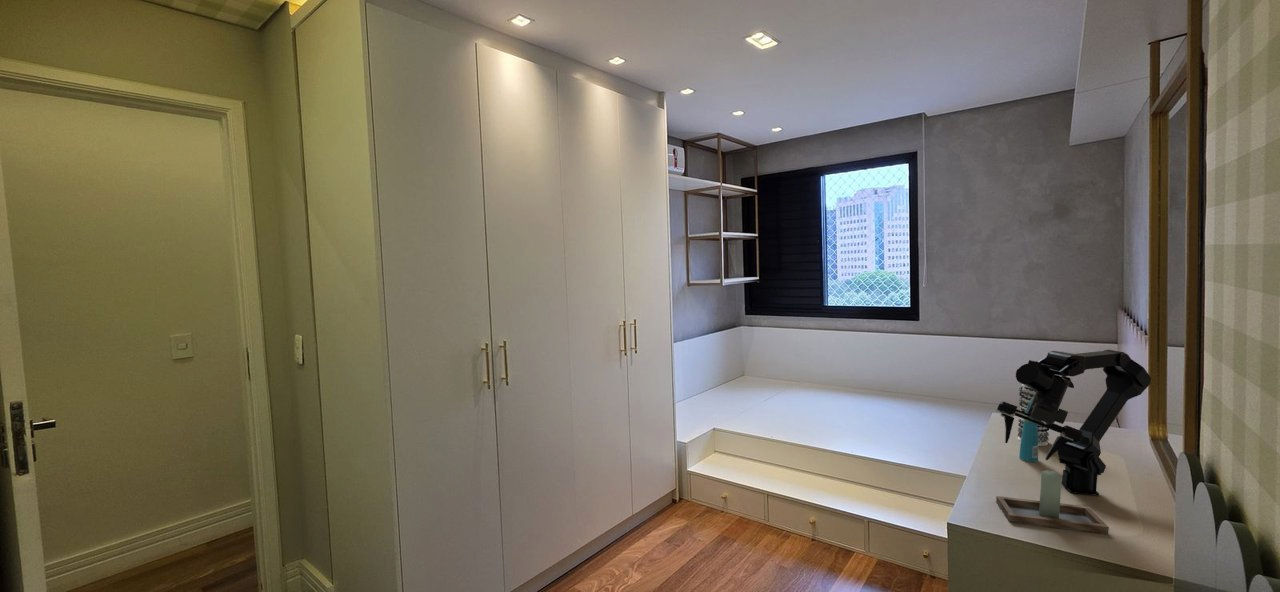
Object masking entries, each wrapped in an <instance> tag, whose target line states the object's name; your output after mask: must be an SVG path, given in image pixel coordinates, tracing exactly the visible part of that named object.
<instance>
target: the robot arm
mask: <svg viewBox="0 0 1280 592" xmlns="http://www.w3.org/2000/svg"><path fill="white" fill-rule="evenodd" d="M1093 369H1102V371H1103V372H1104V373H1105V375H1106V377H1105V379H1104V380H1105V385H1106V390H1105V392H1104V393H1103V395H1102V396H1101V397H1100V399H1099V400H1098V402H1097V403H1096V404H1095V406H1094V407H1093V409H1092V411H1091V412H1090V413H1089V415H1088V416H1087V418H1086V419H1085V421H1084V422H1083V424H1081V426H1080V428H1079V429H1078V428H1074V427H1072V426H1070V425H1063V424H1064V423H1065V421H1066V419H1067V416H1068V414H1069V412H1068V411H1067V410H1065V409H1062V408H1060V406H1061V404H1062V402H1063V400H1064V397H1065V394H1066V391H1067V390H1068V388H1071V389H1074V388H1075V386H1074V383H1073V382H1072V379H1071V377H1076V376H1079V375H1082V374H1085V371H1086V370H1093ZM1151 377H1152V376H1150V374H1149V373H1148V371H1147V370H1146V369H1145V368H1144V366H1142V365H1141V364H1139V363H1138V362H1136V361H1135V360H1133V359H1132V358H1131V357H1130V355H1129V354H1128V353H1126V352H1124V351H1120V350H1119V351H1118V350H1114V349H1104V350H1100V351H1098V350H1097V351H1090V352H1089V351H1088V352H1081V353H1080V352H1079V353H1074V352H1073V353H1072V352H1071V353H1070V352H1065V351H1060V350H1059V351H1058V350H1051V351H1049V352H1047V354H1046V355H1044V356H1043V357H1042V358H1040V359H1039V360H1033V359H1029V360H1028V362H1027V363H1025V364H1022V365H1021V366H1020V367H1019V368H1017V369H1016V372H1015V379H1016V381H1017V382H1018V383H1019V384H1021V385H1022V384H1023V385H1025V386H1027V387H1030V388H1032V389H1034V390H1036V394H1035V396H1034V398H1033V401H1032V403H1031V406H1030V408H1029V410H1028V413H1025V412H1023V411H1021V409H1018V406H1017V405H1015V404H1012V403H1008V402H1006V401H1000V402H999V403H998V406H997V408H996V412H999V413H1000V417H1003V418H1004V425H1005V426H1004V428H1005V433H1004V434H1005V436H1004V439H1005V440H1004V444H1008V442H1009V439H1010V437H1011V432H1012V429H1013V425H1014V420H1015V417H1017V418H1019V419H1020V418H1022V419H1025V420H1028V421H1030V422H1033V423H1035V424H1038V425H1041V426H1043V427H1046V428H1048V429H1049V430H1051V431H1054V432H1057V433H1059V435H1057V437H1056V438H1055V439H1054V442H1053V443H1052V445H1051V447H1050V448H1049V450H1048V452H1047V454H1046V456H1045V460H1046V461H1048V460H1050V458H1051V457H1052V456H1053V455H1054V454H1055V453H1056V452H1057V457H1058V460H1059V464H1061V465H1062V464H1063V465H1064V469H1063V470H1062V481H1061V485H1063V486H1064V487H1065V489H1067V490H1068V491H1069V493H1073V494H1081V495H1091V496H1100V493H1099V492H1098V491H1097V488H1098V487H1097V485H1098V476H1102V474H1105V471H1106V467H1107V464H1105V462H1103V460H1102V458H1100V455H1101V454H1102V452H1101V451H1102V450H1101V449H1102V448H1101V443H1100V442H1101V440H1103V439H1102V438H1103V437H1104V436H1105V434H1106V433H1107V431H1108V430H1109V428H1110V427H1111V425H1112V424H1113V423H1114V421H1115V420H1116V418H1117V417H1118V415H1119V414H1120V412H1121V411H1122V409H1123V408H1124V406H1125V405H1126V403H1127V401H1129V400H1131V399H1133V398H1136V397H1139V396H1140V395H1142V393H1144V392H1145V390H1146V389H1147V388H1149V386H1150V384H1151V382H1152V378H1151ZM1030 416H1031V417H1030ZM1030 418H1031V419H1030ZM1032 419H1033V420H1032ZM1042 421H1044V422H1046V423H1047V424H1045V423H1044V422H1042ZM1055 422H1056V423H1055ZM1057 423H1059V424H1062V425H1063V426H1062V425H1059V424H1057Z"/></svg>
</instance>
